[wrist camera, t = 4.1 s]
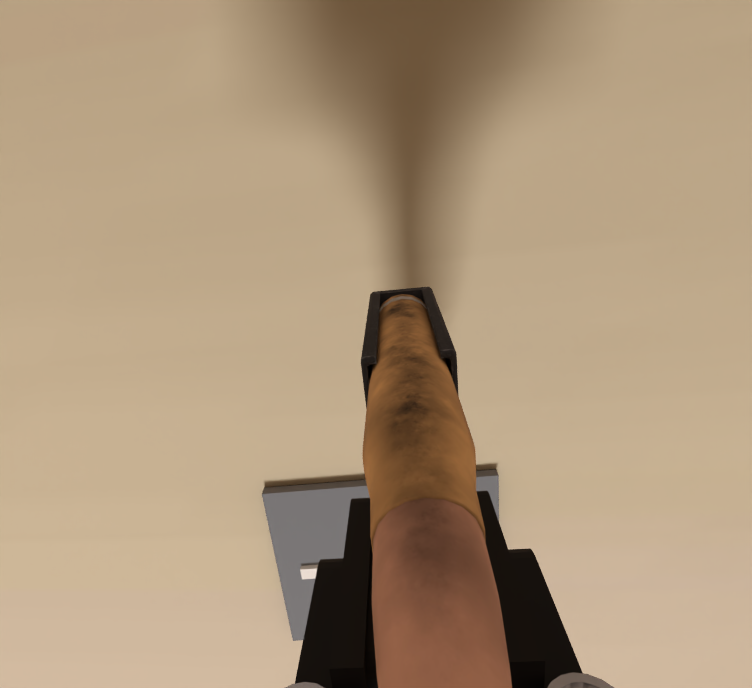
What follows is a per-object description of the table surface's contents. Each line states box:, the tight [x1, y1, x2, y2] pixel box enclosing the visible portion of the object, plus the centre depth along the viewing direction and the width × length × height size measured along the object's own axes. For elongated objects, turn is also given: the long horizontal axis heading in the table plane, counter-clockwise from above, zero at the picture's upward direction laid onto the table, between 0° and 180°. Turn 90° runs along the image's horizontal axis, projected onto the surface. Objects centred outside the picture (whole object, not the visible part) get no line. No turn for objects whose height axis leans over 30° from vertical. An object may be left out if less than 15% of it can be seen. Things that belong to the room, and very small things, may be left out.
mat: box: [262, 469, 499, 641], centre depth 28 cm, size 14×12×1 cm
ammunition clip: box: [361, 287, 512, 688], centre depth 9 cm, size 11×2×12 cm, turn 6°
